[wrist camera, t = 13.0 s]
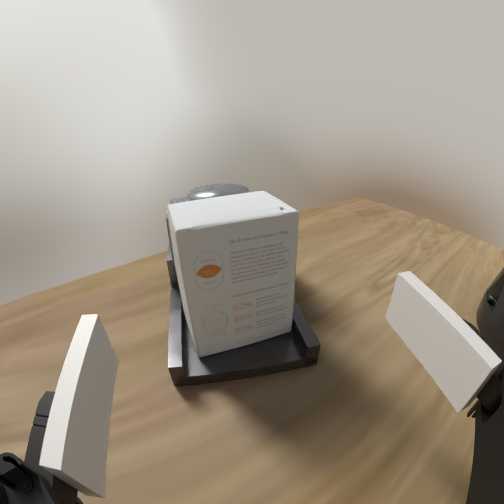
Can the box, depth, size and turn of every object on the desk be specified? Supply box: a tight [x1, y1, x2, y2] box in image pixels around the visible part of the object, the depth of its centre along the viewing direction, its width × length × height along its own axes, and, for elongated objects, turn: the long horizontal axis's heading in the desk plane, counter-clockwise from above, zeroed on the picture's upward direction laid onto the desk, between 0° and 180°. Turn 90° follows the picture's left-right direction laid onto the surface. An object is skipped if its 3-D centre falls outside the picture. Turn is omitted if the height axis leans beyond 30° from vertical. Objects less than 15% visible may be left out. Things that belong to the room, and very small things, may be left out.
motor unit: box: [166, 184, 320, 386], centre depth 25 cm, size 11×18×10 cm, turn 12°
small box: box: [167, 191, 299, 357], centre depth 21 cm, size 8×6×10 cm
